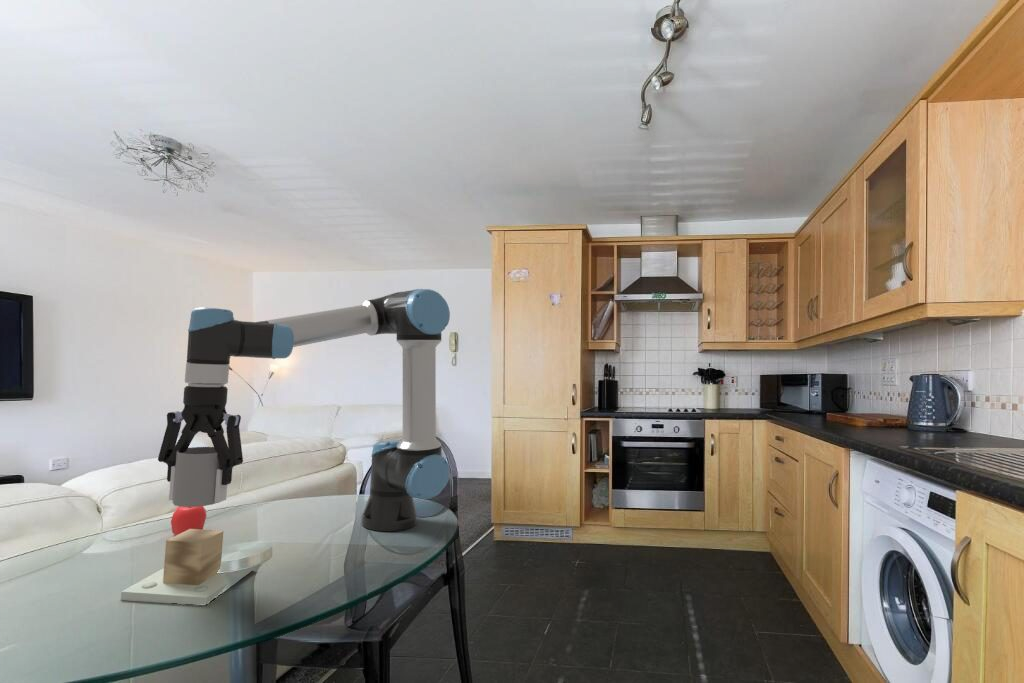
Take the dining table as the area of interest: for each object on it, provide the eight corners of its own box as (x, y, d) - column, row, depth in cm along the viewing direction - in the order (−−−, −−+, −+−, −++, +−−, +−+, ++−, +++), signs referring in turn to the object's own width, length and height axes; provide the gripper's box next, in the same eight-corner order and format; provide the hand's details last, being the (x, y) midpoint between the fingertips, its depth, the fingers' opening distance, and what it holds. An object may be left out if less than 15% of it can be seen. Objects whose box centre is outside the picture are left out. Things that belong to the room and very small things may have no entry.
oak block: (220, 570, 106) (223, 530, 106) (198, 585, 99) (201, 542, 99) (187, 568, 106) (190, 528, 107) (162, 582, 99) (166, 540, 100)
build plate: (253, 570, 110) (253, 563, 110) (206, 605, 94) (206, 596, 94) (179, 566, 111) (180, 558, 111) (120, 600, 95) (121, 590, 95)
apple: (195, 539, 127) (198, 506, 127) (161, 539, 126) (164, 505, 126) (212, 529, 135) (214, 498, 135) (180, 528, 134) (182, 497, 134)
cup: (169, 508, 98) (174, 454, 98) (175, 497, 105) (178, 447, 105) (221, 505, 102) (225, 453, 102) (222, 494, 109) (226, 446, 109)
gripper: (268, 387, 108) (260, 498, 107) (168, 381, 108) (159, 491, 107) (248, 388, 100) (239, 508, 99) (141, 383, 101) (131, 501, 100)
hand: (197, 499), depth 103 cm, fingers closed on cup, 8 cm apart
